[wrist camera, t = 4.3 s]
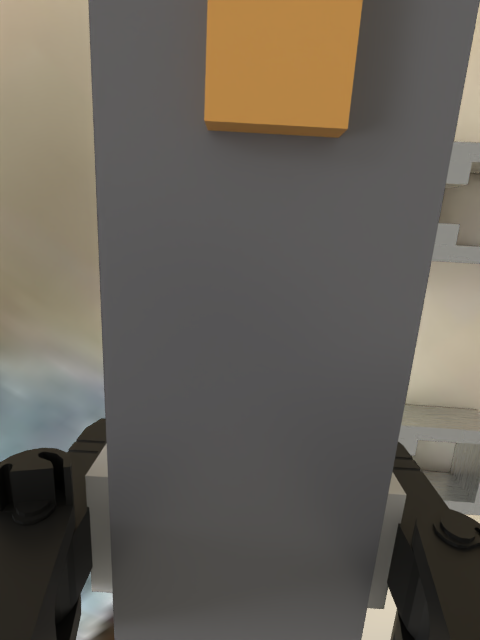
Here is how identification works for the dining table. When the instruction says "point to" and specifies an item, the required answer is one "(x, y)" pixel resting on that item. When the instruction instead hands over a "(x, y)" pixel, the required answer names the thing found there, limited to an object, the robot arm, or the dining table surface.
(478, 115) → the dining table surface
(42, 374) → the dining table surface
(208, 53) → the grey rectangular bar
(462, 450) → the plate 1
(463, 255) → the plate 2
